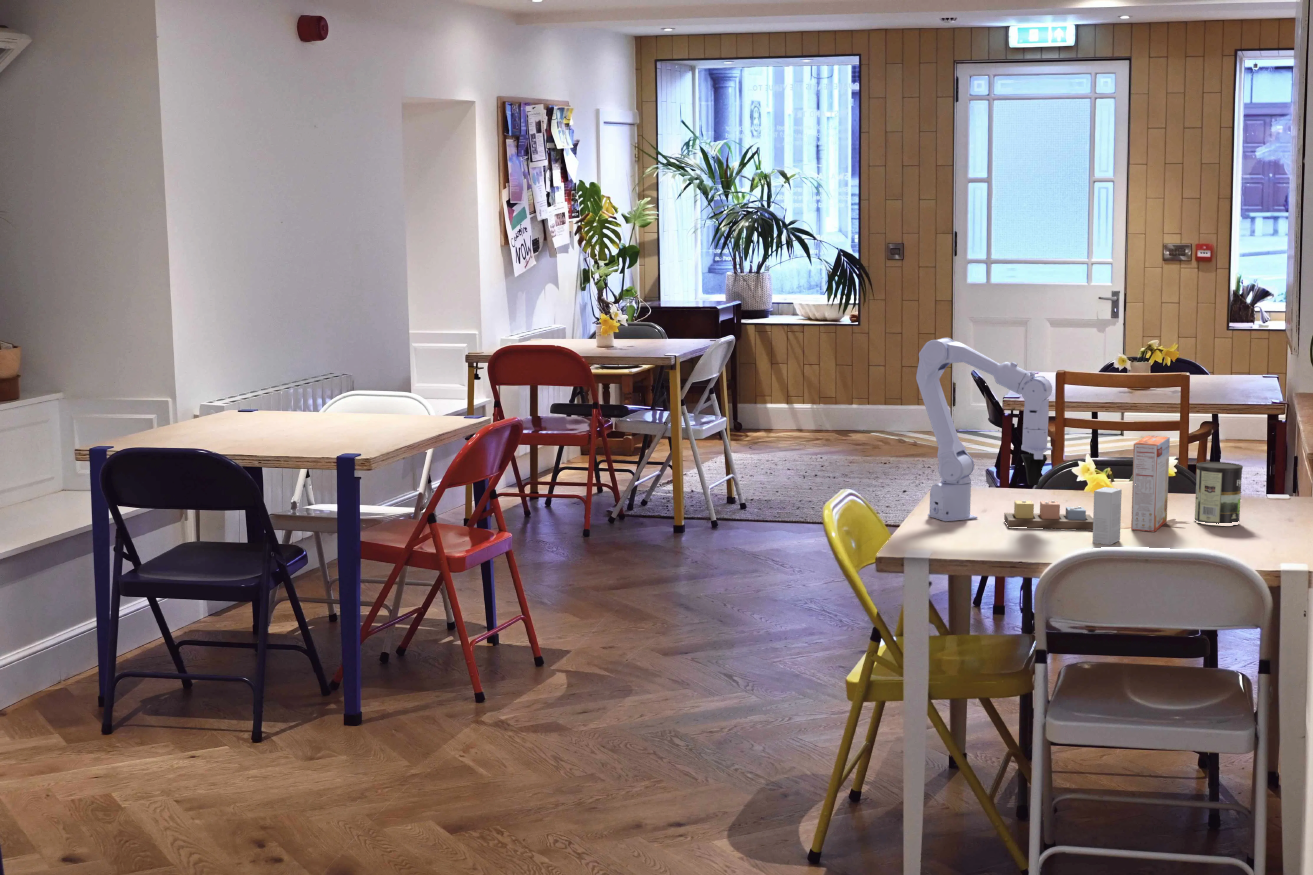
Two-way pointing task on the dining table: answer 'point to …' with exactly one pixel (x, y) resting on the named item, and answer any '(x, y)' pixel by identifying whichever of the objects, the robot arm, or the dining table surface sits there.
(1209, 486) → the coffee can
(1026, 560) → the dining table surface
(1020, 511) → the yellow cube
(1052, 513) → the two dot tile
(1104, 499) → the skincare box
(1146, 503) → the cracker box
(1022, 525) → the brown flat board
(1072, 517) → the light blue cube
